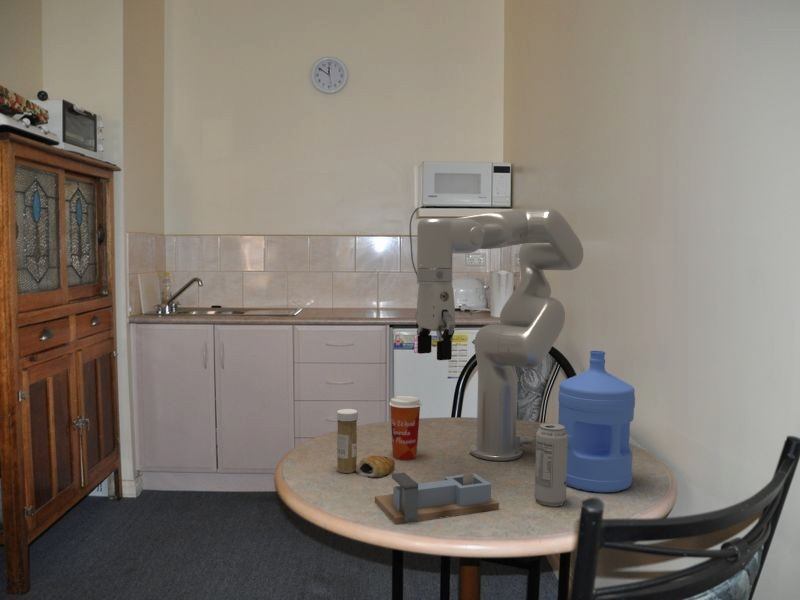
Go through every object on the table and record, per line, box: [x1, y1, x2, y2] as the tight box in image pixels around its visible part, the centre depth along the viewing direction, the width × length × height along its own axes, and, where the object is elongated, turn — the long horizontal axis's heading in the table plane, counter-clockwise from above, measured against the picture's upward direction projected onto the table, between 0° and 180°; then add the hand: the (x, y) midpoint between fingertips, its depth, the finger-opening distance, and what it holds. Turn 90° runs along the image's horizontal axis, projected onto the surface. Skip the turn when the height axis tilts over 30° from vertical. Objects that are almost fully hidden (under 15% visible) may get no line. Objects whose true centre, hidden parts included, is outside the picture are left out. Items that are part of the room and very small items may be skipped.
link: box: [392, 472, 492, 511], centre depth 120 cm, size 18×7×4 cm, turn 112°
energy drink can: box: [534, 422, 568, 507], centre depth 124 cm, size 6×6×15 cm
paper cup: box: [388, 395, 423, 461], centre depth 152 cm, size 8×8×14 cm
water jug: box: [557, 350, 636, 493], centre depth 136 cm, size 16×16×28 cm
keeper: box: [391, 472, 419, 524], centre depth 117 cm, size 2×7×7 cm, turn 22°
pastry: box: [355, 455, 396, 478], centre depth 141 cm, size 9×7×4 cm
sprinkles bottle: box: [336, 408, 359, 474], centre depth 141 cm, size 5×5×14 cm
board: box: [374, 471, 500, 525], centre depth 122 cm, size 21×11×6 cm, turn 112°
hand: (433, 356), depth 137 cm, fingers open, 9 cm apart
